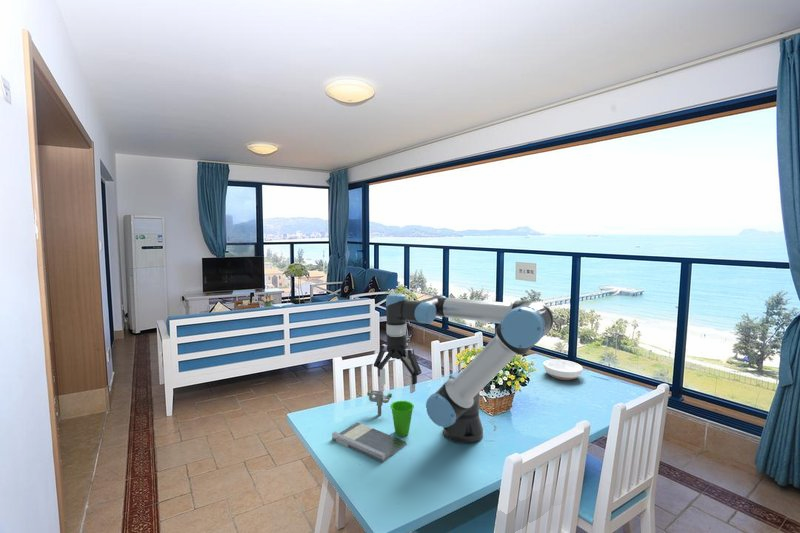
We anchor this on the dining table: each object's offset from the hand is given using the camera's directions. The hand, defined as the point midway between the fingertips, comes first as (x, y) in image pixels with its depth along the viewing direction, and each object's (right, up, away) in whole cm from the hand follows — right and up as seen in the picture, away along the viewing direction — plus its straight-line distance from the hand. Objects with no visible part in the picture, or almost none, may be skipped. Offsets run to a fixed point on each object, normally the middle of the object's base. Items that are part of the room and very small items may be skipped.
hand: (397, 388), depth 150 cm
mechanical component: (-8, -16, +14) cm, 23 cm away
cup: (+2, -17, 0) cm, 18 cm away
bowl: (+88, -12, +59) cm, 107 cm away
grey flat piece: (-10, -18, -6) cm, 22 cm away
